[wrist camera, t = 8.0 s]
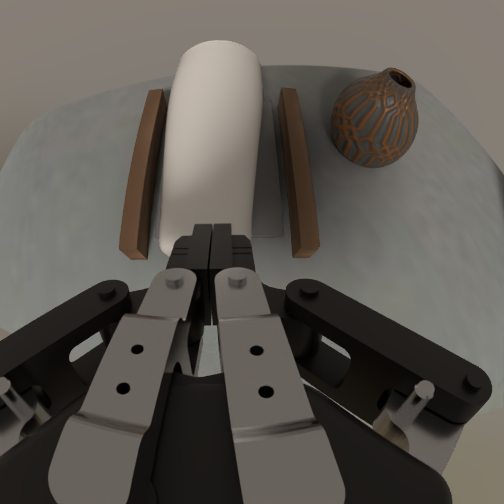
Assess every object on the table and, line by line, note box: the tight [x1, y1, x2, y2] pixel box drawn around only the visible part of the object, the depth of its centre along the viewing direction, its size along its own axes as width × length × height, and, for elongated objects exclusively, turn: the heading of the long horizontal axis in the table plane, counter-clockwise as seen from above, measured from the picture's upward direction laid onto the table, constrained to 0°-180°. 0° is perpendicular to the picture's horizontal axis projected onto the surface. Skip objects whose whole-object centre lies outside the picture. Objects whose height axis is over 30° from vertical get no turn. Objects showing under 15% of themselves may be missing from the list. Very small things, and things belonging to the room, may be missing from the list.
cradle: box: [119, 88, 320, 260], centre depth 20 cm, size 12×14×2 cm
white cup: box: [159, 40, 263, 257], centre depth 18 cm, size 7×7×15 cm
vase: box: [331, 68, 418, 168], centre depth 19 cm, size 7×7×9 cm
